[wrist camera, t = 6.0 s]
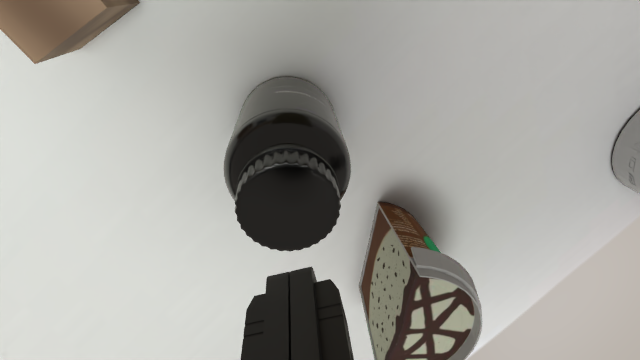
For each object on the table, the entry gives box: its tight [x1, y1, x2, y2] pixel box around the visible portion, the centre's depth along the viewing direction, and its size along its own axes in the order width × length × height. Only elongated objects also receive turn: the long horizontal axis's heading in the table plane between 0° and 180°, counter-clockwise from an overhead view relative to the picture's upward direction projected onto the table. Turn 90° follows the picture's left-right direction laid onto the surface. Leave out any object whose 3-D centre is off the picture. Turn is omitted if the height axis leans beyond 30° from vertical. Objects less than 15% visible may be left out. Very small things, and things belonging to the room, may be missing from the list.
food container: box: [359, 202, 482, 360], centre depth 29 cm, size 12×6×10 cm, turn 173°
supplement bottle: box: [224, 77, 351, 251], centre depth 22 cm, size 7×7×12 cm
